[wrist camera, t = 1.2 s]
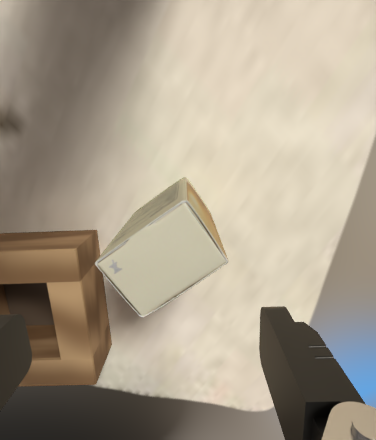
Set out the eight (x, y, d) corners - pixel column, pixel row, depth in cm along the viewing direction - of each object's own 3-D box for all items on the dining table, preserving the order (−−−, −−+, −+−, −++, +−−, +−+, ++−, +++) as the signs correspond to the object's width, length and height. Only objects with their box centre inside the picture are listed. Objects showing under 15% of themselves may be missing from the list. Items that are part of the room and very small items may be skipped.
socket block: (-36, 234, 28) (-87, 255, 22) (96, 230, 27) (75, 249, 22) (-7, 347, 31) (-46, 388, 26) (111, 344, 31) (95, 384, 26)
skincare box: (159, 247, 28) (137, 324, 16) (132, 212, 27) (87, 266, 15) (214, 211, 27) (232, 264, 15) (188, 173, 26) (185, 198, 14)
